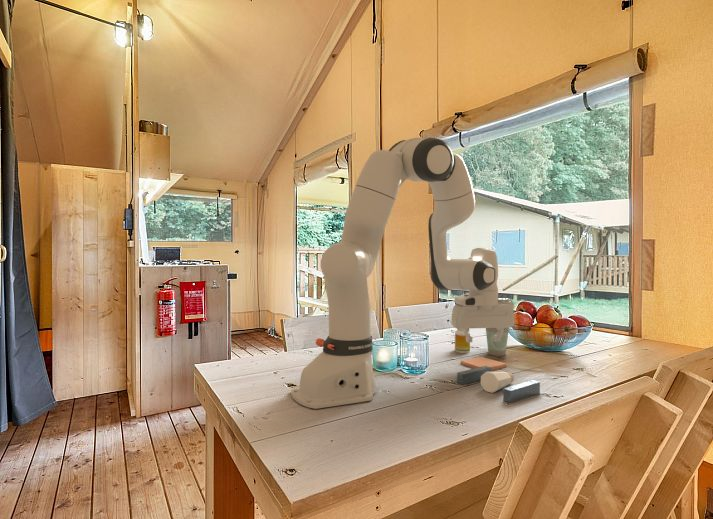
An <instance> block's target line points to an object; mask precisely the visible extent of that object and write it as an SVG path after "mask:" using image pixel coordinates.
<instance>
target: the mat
mask: <svg viewBox="0 0 713 519" xmlns="http://www.w3.org/2000/svg"><path fill="white" fill-rule="evenodd" d="M459 362H460V365H462V366H466V367H469V368H471V369H474V368H478V367H483V366H488V367H491V372H493V371H495V370H499V369H503V368H507V362H502V361H499V360H495V359H491V358H487V357H484V356H477V357H474V358H473V357H472V358H468V359H464V360H460V361H459Z"/></svg>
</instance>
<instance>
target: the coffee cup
mask: <svg viewBox="0 0 713 519" xmlns="http://www.w3.org/2000/svg"><path fill="white" fill-rule="evenodd" d="M509 330H510V327H507V328H504V332H503V333H502V335H501V336H500V341H499V342H495V341H494V340H493V339H494V337H493V335H496V334H497V332H498V330H497V328H485V334H486V343H487V351H488V352H487V353H488V354H489V355H491V356H497V357H499V356H500V357H502V356H505V355H506V354H507V348H508V337H509Z"/></svg>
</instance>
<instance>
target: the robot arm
mask: <svg viewBox="0 0 713 519" xmlns="http://www.w3.org/2000/svg"><path fill="white" fill-rule="evenodd" d="M363 165H364V166H363V168H362V170H361V171H360V173H359V176H358V178H357V181H356V183H355V185H354V188H353V192H352V194H351V197H350V199H349V203H348V205H347V208H346V211H345V214H344V225H343V230H342V235H341V239H340V241H337V242H334V243H333V244H332V245H330V246H329V247H328V248H327V249H326V250H325V251H324V252H323V254H322V256H321V258H320V270H321V272H322V274H323V277H324V286H325V287H324V288H325V293H326V297H327V299H326V300H327V304H328V305H327V306H328V336H327V337H326V339H325V340H324V339H322V338H320V337H318V338H316V340H315V345H316V346H317V347H320V348H322V351H321V352H320V353H319V354H318V355H317V356H316V357H315V358H314V359H313V360H311V362H309V363H308V364H307V365H306V366H305V367H304V368H303V369H302V371H301V375H300V378H299V385H298V386H294V387H292V388H291V392H290V396H291V398H292V399H293V400H294V401H295V402H297V403H298V404H300V405H301V406H304V407H306V408H309V409H315V410H317V409H322V408H323V409H324V408H329V407H337V406H343V405H350V404H356V403H357V404H358V403H364V402H368V401H372V400H373V397H374V396H373V395H375V394H376V392H377V391H378V388H377V384H376V381H375V375H374V370H373V360H372V352H373V336H372V335H371V334H372V333H371V331H372V330H371V329H372V328H371V327H372V326H371V325H372V324H371V322H372V321H371V317H372V316H371V314H372V313H371V312H372V311H371V310H372V309H371V308H372V307H371V306H372V305H371V302H370V297H369V296H370V295H369V290H368V289H369V288H368V287H369V286H368V277H369V276H370V275H371V274H372V273H373V270H374V267H375V265H376V260H377V259H378V256H379V251H380V248H381V244H382V240H383V237H384V232H385V229H386V227H387V224H388V221H389V218H390V216H391V214H392V213H391V212H392V210H393V207H394V205H395V202H396V200H397V197H398V194H399V190H400V188H401V186H402V185H403V183H404V182H405V181H406V180H409V181H412V182H427V183H428V184H429V186H430V188H431V189H430V190H431V192H432V193H431V194H432V199H433V203H434V204H433V205H434V208H433V212H432V213H431V214H430V216H429V218H428V225H427V226H428V228H427V229H428V240H429V254H430V280H431V282H432V283H433V285H434V286H435V287H436V288H437V289H438V290H440V291H450V290H454V291H455V290H456V291H468V292H467V293H463V294H461V295H458V296H455V297H454V301H453V302H454V303H455V305H454V306H453V307H452V310H451V311H452V313H451V326H452V327H453V328H455V329H456V330H457V329H463V332H464V334H465V336H466V342H470V343H473V339H474V338H473V336H471V335H470V336H469V334H468V332H470V329H486V328H497V330H498V332H497V334H496V335H493V337H494V339H493V340H494V341H495V342H499V341H500V336H501V335H502V333H503V332H504V328H507V327H509V328H513V327H514V326H515V325H516V324H515V322H516V321H515V313H514V309H515V303H514V302H513V300H512V299H510V298H506V297H505V298H499V288H498V278H499V265H498V256H497V253H496V251H495V250H493V249H491V248H485V247H475V248H474V249H472V250H471V252H470V257H469V258H465V259H464V258H463V259H461V258H460V259H459V258H451V257H449V255H448V248H447V247H448V246H447V233H448V231H449V230H451V229H453V228H455V227H457V226H459V225H461V224H462V223H464V222H465V221H467V220H468V219H469V218H470V217H471V216H472V214H473V213H474V210H475V208H476V197H475V193H474V187H473V183H472V179H471V177H470V173H469V171H468V168H467V165H466V164H465V161H464V159H463V157H462V156H460V155H459V154H455V153H453V150H452V148H451V147H450V146H449V144H448V143H447V142H445V141H444V140H442V139H440V138H436V137H426V138H425V137H414V138H410V139H403V140H400V141H397V143H396V142H395V144H394V145H392V146H391V147H390V148H389V149H388V150H387V149H378V150H375V151H373V152H372V153H371V154H370V155H369V157H368V158H367V160H366V161H365V164H363Z"/></svg>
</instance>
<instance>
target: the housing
mask: <svg viewBox="0 0 713 519" xmlns="http://www.w3.org/2000/svg"><path fill="white" fill-rule="evenodd" d="M485 372H492V371H491V367H488V366H483V367H478V368H471V369H467V370H462V371H458V372H456V374H457V375H456V382H457V384H458V385H461V386H465V385H469V384H472V383H477V382H481V376H482V375H483V374H484V373H485ZM502 389H503V391H502V392H503V393H502V395H503V398H502V399H503V400H502V401H503V402H506V403H509V404H512V403H515V402H518V401H521V400H525V399H528V398H530V397H534V396H538V395H540V394H541V392H540V391H541V383H540V381H538V380H535V379H532V380H528V381H524V382H521V383H518V384H514V385H510V386H508V387H507V386H506V387H503V388H502Z"/></svg>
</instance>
